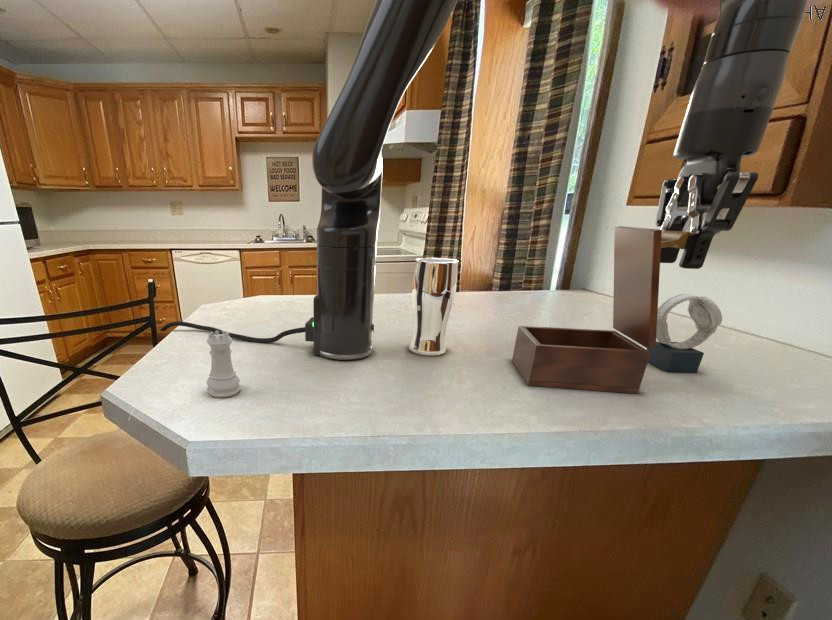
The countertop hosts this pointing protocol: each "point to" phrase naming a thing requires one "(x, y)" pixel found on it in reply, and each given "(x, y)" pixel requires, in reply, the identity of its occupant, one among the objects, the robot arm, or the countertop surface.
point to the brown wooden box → (579, 359)
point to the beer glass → (432, 303)
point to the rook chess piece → (221, 367)
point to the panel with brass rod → (640, 279)
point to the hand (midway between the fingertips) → (676, 264)
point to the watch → (682, 353)
